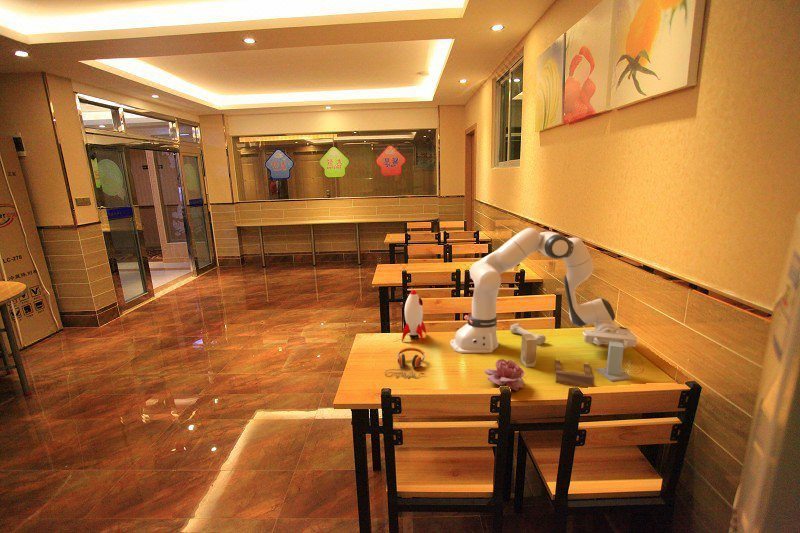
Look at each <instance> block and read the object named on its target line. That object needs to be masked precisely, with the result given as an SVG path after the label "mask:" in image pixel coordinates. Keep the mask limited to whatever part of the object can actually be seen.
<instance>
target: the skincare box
mask: <svg viewBox="0 0 800 533" xmlns="http://www.w3.org/2000/svg"><path fill="white" fill-rule="evenodd" d="M520 346H521V347H520V348H521V349H520V363H522V364H523V365H524V367H525V368H529V367H530V368H531V367H532V368H533V367H536V361H537V348H538V345H537V339H536V338H535V337H534V336H533V335H532V334H523V335H522V334H521V345H520Z"/></svg>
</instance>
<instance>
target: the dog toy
mask: <svg viewBox="0 0 800 533" xmlns="http://www.w3.org/2000/svg"><path fill="white" fill-rule="evenodd" d="M509 330H510V332H511V333H512V334H519V335H521V336H522V335H523V334H532V335H533V336H534V337H535V338H536V339H537V346H542V345H543V344H544V343H545V342H546V341H547V338H546V336H545V335H544V334H542V333H540V334H535V333H532V332H530V331H528V330H526V329H524V328H523V327H521V324H520V323H518V322H517V323H515V324H511V325H510V328H509Z"/></svg>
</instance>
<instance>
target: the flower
mask: <svg viewBox="0 0 800 533" xmlns="http://www.w3.org/2000/svg"><path fill="white" fill-rule="evenodd" d="M494 366H495V368H496V369H491V368H486V369H484V374H485V375H488V376H487V378H486V379H487V380H488V381H489V382H491V383H492V384H494V385H499V386H502V387H505V386H508V387H510V388H509V389H511V390H514V392H515V391H516V392H517V391H519V388H520V389H524V381H525V380H524V379H523V376H524V375H525V374H526V373H525V371H524V370H523V369H522V367H520V365H519V364H518V363H517V362H516V361H513V360H512V359H509V360H506V359H504V358H502V359H501V358H500V359H497V360H496V361H495V364H494ZM508 387H507V388H508Z"/></svg>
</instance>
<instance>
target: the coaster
mask: <svg viewBox="0 0 800 533" xmlns="http://www.w3.org/2000/svg"><path fill="white" fill-rule="evenodd" d="M606 369H607V367H599V368H595V371H596V372H597V373H598V374H600V375H601V376H603V377H604V378H605V379H607V380H608V381H610V382H616V381H624V380H632V379H633V376H632V375H630V374H629V373H627V372H625V371H624V370H622V369H621V376H615V375H608V373H607V370H606Z"/></svg>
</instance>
